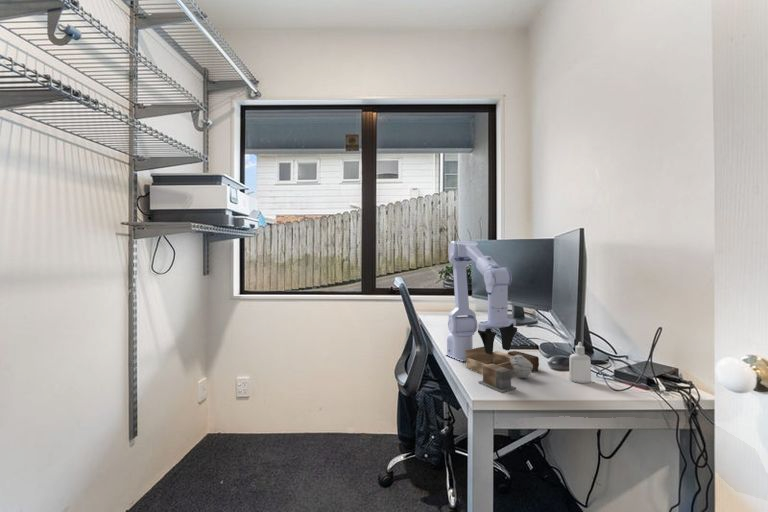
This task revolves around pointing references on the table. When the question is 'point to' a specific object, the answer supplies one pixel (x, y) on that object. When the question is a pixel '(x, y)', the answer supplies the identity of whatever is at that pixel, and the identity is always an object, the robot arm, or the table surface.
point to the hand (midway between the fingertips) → (497, 351)
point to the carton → (486, 359)
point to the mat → (497, 388)
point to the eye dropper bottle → (579, 366)
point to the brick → (531, 358)
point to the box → (497, 376)
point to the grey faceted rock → (521, 366)
